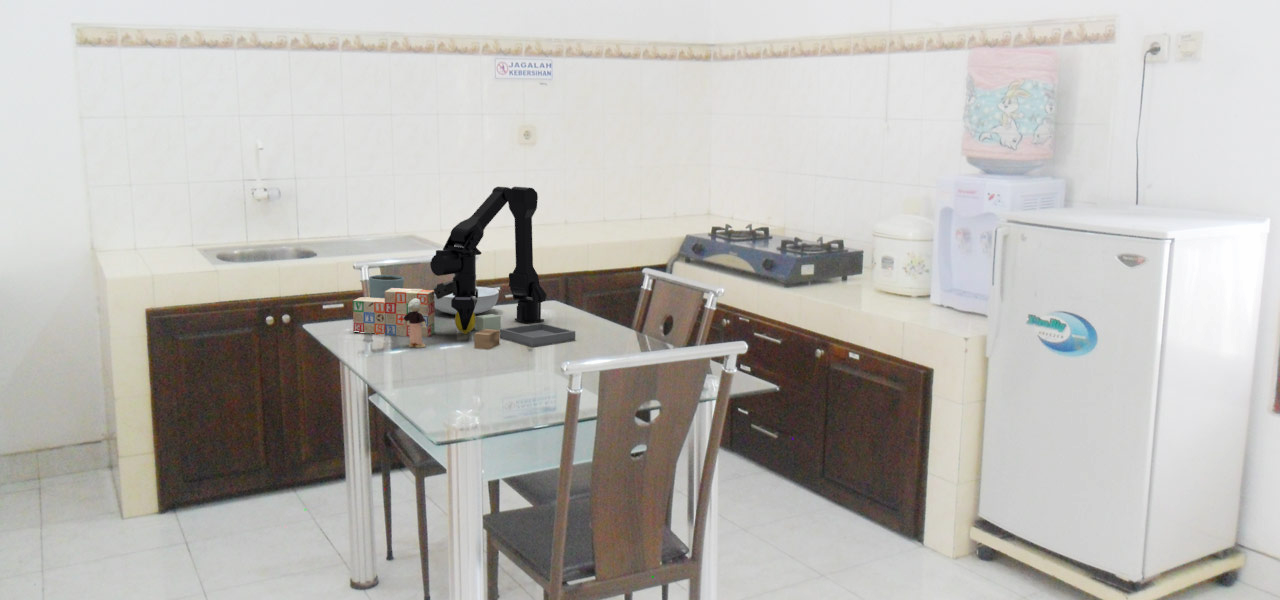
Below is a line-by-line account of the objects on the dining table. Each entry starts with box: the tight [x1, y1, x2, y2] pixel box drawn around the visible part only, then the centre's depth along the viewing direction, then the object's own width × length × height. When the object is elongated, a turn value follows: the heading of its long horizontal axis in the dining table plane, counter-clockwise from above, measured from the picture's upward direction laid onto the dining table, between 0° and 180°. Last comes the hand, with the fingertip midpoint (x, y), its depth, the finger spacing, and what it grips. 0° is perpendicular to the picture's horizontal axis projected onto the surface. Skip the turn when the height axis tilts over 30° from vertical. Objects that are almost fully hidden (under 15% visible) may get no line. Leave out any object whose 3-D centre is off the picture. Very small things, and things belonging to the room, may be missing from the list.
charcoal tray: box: [500, 322, 576, 348], centre depth 295 cm, size 15×15×2 cm
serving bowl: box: [434, 286, 500, 316], centre depth 330 cm, size 21×21×7 cm
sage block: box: [474, 313, 502, 332], centre depth 306 cm, size 6×4×4 cm, turn 132°
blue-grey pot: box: [368, 274, 405, 298], centre depth 320 cm, size 10×10×12 cm
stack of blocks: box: [352, 288, 436, 338], centre depth 298 cm, size 21×6×12 cm, turn 84°
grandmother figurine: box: [403, 298, 426, 349], centre depth 281 cm, size 8×4×13 cm, turn 71°
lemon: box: [454, 311, 476, 335], centre depth 298 cm, size 6×6×8 cm
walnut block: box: [473, 329, 501, 350], centre depth 284 cm, size 7×4×4 cm, turn 163°
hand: (465, 327), depth 299 cm, fingers closed on lemon, 5 cm apart
